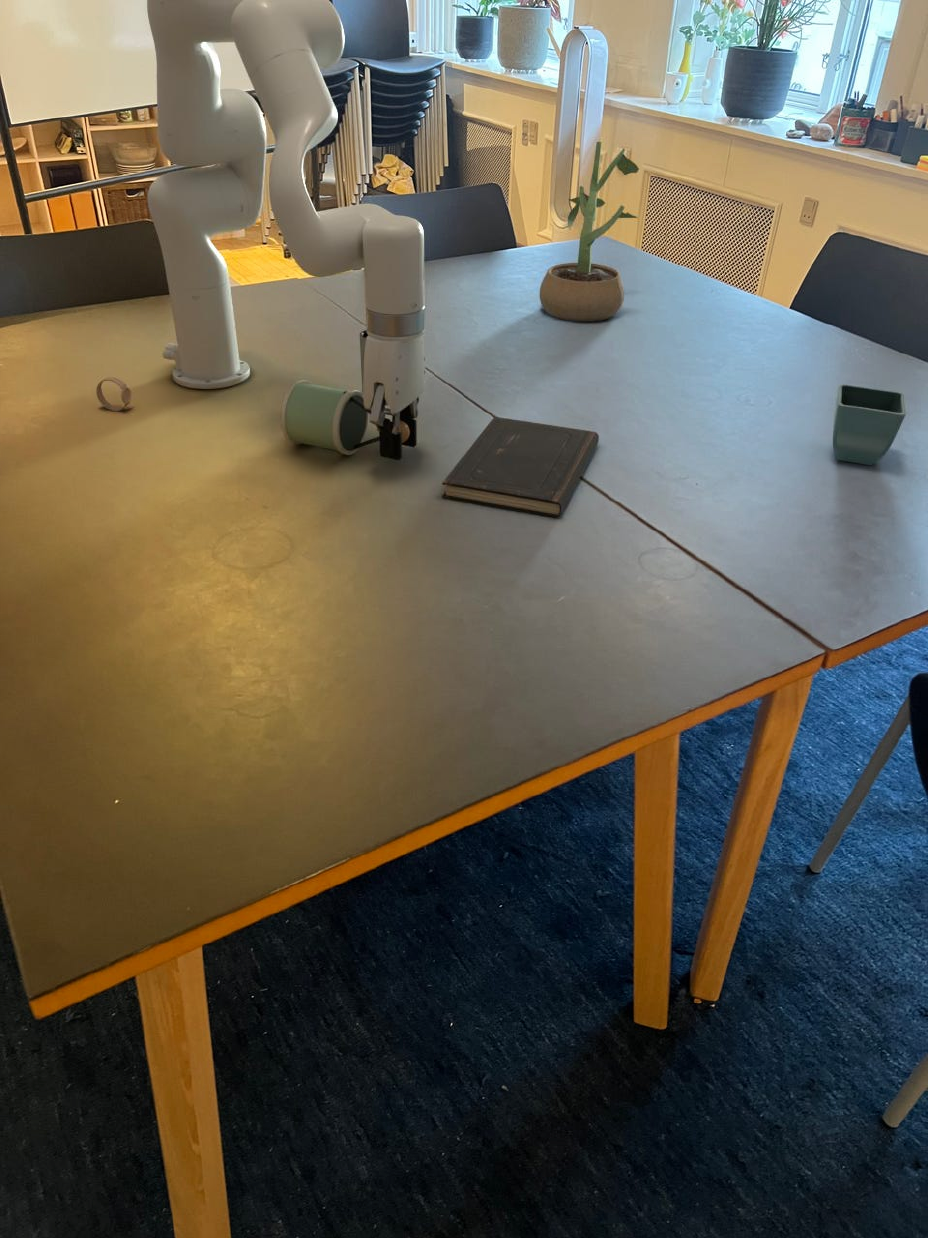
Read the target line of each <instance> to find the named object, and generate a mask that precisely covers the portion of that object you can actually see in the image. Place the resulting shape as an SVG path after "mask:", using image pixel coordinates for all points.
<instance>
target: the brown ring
mask: <svg viewBox="0 0 928 1238" xmlns="http://www.w3.org/2000/svg"><path fill="white" fill-rule="evenodd" d="M104 382H113V383H114V384H116V385H117V386H118V387H119V388H120V390H121V395H120V397H121V401H122V402H123V404H124V405H123V406H114V405H113V404H111V403H109V402H108V401H107V400H106V398H105V395H104V394H103V389H102V385H103V383H104ZM95 392H96V397H97V399H98V401H99V403H100V404H101V405H102V406H103V407H104V408H106V409H108V410H109V411H112V412H120V411H123V410H124V409H125V408H126V407H127V406H128V405H129V404H130V403H131V399H132V391H131V389H130V387H128V385H127V384H126V383H125V382H124V381H122V380H120V378H117V377H114V376H113V377H112V376H109V377H106V378H104V379H102V380H101V381H100V382H98V384H97V386H96V391H95Z"/></svg>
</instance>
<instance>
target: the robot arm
mask: <svg viewBox="0 0 928 1238" xmlns="http://www.w3.org/2000/svg"><path fill="white" fill-rule="evenodd" d="M146 5H147V6H146V9H147V10H146V12H147V18H148V23H149V28H150V31H151V35H152V39H153V45H154V51H155V59H156V61H155V62H156V114H157V115H156V116H157V121H156V122H157V135H158V143H159V147H160V150H161V152H162V155H163V156H164V157H165V159H167V160H168V161H169V162H170V163H172V164H174V165H176V166H181V167H194V168H187V169H179V170H175V171H171V172H167V173H164V174H161V175H160V176H158V177H157V178H155V179H154V181H153V182H152V183H151V184H150V185H149V188H148V191H147V205H148V211H149V214H150V217H151V219H152V223H153V226H154V229H155V232H156V236H157V238H158V241H159V245H160V246H159V247H160V249H161V254H162V258H163V263H164V270H165V275H166V281H167V287H168V294H169V299H170V306H171V313H172V319H173V325H174V331H175V338H176V343H171V342H168V343H166V345H165V347H164V348H165V349H164V350H163V352H162V358H163V359H166V360H170V361H171V360H172V361H174V364H175V367H174V368H173V369H172V379H173V381H174V382H175V383H176V384H178V385H180V386H182V387H185V388H189V389H198V390H215V389H224V388H228V387H232V386H235V385H237V384H240V383H243V382H244V381H246V380H247V379H248V378H249V377H250V374H251V369H250V365H249V364H248V363H247V362H246V361H244V360H241V359H240V355H239V348H238V338H237V330H236V322H235V315H234V307H233V306H234V305H233V298H232V291H231V282H230V274H229V268H228V265H227V262H226V260H225V258H224V256H223V254H222V253H221V252H220V251H219V250H218V249H217V248H216V246H215V245H214V244H213V242H212V240H211V237H214V236H217V235H223V234H227V233H232V232H238V231H241V230H246V229H248V228H251V227H253V226H254V225H255V224H257V222H258V221H259V218H260V217H261V213H262V209H263V203H264V188H265V174H266V159H267V158H266V157H267V128H266V127H267V126H266V122H265V118H264V116H265V117H266V120H267V123H268V124H269V127H270V129H271V132H272V134H273V136H274V142H275V144H274V145H275V146H274V149H273V152H272V156H271V160H270V165H269V173H268V191H269V193H268V194H269V203H270V209H271V212H272V215H273V219H274V220H275V222H276V226H277V227H278V230H279V232H280V235H281V236H282V239H283V241H284V243H285V245H286V247H287V250H288V252H289V254H290V256H291V258H292V259H293V261H294V262H295V263H296V265H297V267H299V268H300V269H301V270H302V271H303V272H304V273H306V274H308V275H309V276H312V277H315V278H316V277H317V278H324V277H330V276H334V275H338V274H342V273H347V272H351V271H355V270H361V269H363V273H364V274H363V275H364V277H363V278H364V297H365V300H364V303H365V323H366V325H365V326H366V327H365V328H366V329H365V330H367V334H368V336H367V338H366V345H365V354H364V373H363V399H364V407H365V409H367V410H372V411H371V414H369V423H370V424H373V425H375V426H376V430H377V432H378V437H379V441H378V442H379V444H378V445H379V456H380V457H382V458H386V459H391V460H394V461H400V460H401V459H402V458H403V447H409V448H415V447H417V444H418V437H417V435H418V433H417V432H418V431H417V430H418V429H417V418H418V415H419V410H418V404H419V402H420V397H421V395H422V394H423V392H424V391H425V387H426V354H425V343H424V334H425V331H426V330H425V328H426V327H425V234H424V228H423V226H422V224H421V222H419V220H417V219H415V218H413V217H410V216H408V215H407V216H406V215H396V214H394V213H392V212H390V211H389V210H387V209H385V208H383V207H382V206H380V205H378V204H375V203H359V204H354V205H353V204H352V205H349V206H339V207H335V208H334V207H333V208H331V209H330V208H329V209H324V210H319V211H316V209H315V206H314V204H313V202H312V199H311V197H310V194H309V191H308V190H307V186H306V183H305V178H304V161H305V157H306V154H307V152H309V151H310V150H312V149H314V148H315V147H316V146H317V145H318V144H320V143H321V142H323V141H324V140H325V139H326V138H327V137H328V136H329V135H330V134H331V133H332V132H333V131H334V129H335V127H336V126H337V124H338V119H339V117H338V115H339V114H338V109H337V107H336V104H335V103H334V101H333V98H332V96H331V93H330V91H329V88H328V86H327V84H326V82H325V80H324V79H325V78H324V77H323V74H322V72H321V70H323V69H324V70H325V69H329V68H332V67H333V66H335V65H336V64H337V63H338V62H339V61H340V59H341V58H342V56H343V54H344V50H345V30H344V25H343V22H342V20H341V17H340V14H339V13H338V11H337V9H336V7H335V6H334V4H333V3H332V2H331V1H330V0H146ZM215 43H217V44H218V43H234V45H235V48H236V50H237V52H238V54H239V57H240V59H241V62H242V64H243V66H244V69H245V71H246V74H247V76H248V78H249V81H250V83H251V86H252V88H253V90H254V92H255V94H256V96H257V99H258V101H259V104H260V106H261V107H260V106H259V104H258V102H257V101H256V100H255V98H254V97H253V96H252V95H250V94H249V92H247V91H245V90H242V89H239V88H221V76H222V71H221V70H222V69H221V63H220V59H219V56H218V53H217V51H216V49H215V47H214V44H215ZM261 108H262V110H261ZM262 111H263V112H262ZM263 113H264V115H263ZM210 165H212V166H210ZM202 166H204V167H202ZM386 406H387V407H386ZM386 415H387V416H391V419H390V418H387V417H386ZM399 420H401V421H403V422H405V423H406V424H407V425H408V427H409V430H410V434H409V437H408V439H407V440H406V441H405V442H403V443H402V432H399Z"/></svg>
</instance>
